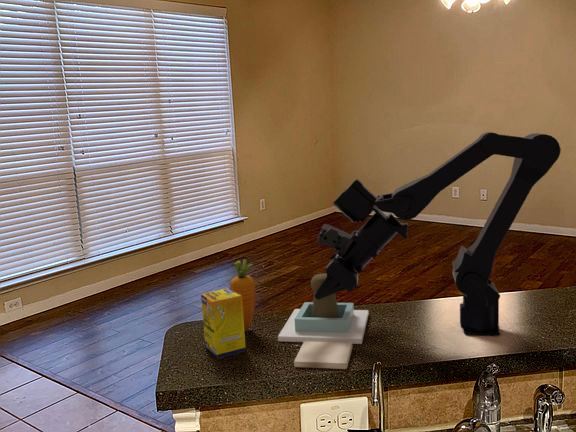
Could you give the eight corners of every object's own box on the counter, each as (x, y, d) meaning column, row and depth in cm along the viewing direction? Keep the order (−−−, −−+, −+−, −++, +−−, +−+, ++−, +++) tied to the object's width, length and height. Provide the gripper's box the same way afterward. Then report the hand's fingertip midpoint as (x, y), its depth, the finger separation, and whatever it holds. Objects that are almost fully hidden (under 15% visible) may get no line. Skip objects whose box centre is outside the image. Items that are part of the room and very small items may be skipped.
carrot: (247, 324, 120) (242, 255, 118) (263, 329, 117) (258, 258, 114) (228, 331, 117) (223, 260, 114) (244, 337, 113) (239, 263, 111)
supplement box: (204, 349, 108) (199, 293, 107) (233, 341, 111) (229, 287, 109) (216, 359, 103) (212, 301, 101) (246, 351, 106) (242, 294, 104)
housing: (368, 314, 122) (368, 298, 121) (361, 343, 106) (360, 326, 106) (295, 313, 125) (294, 297, 125) (278, 341, 110) (277, 323, 109)
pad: (352, 347, 105) (352, 342, 105) (346, 369, 96) (346, 363, 96) (304, 346, 107) (304, 341, 107) (294, 366, 98) (294, 361, 98)
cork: (341, 321, 119) (338, 270, 117) (341, 332, 113) (338, 278, 111) (312, 322, 119) (309, 271, 117) (310, 333, 113) (307, 279, 111)
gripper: (344, 203, 120) (295, 255, 124) (335, 219, 102) (278, 279, 106) (383, 239, 120) (333, 290, 124) (381, 261, 102) (323, 320, 106)
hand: (317, 293), depth 115 cm, fingers closed on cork, 5 cm apart
